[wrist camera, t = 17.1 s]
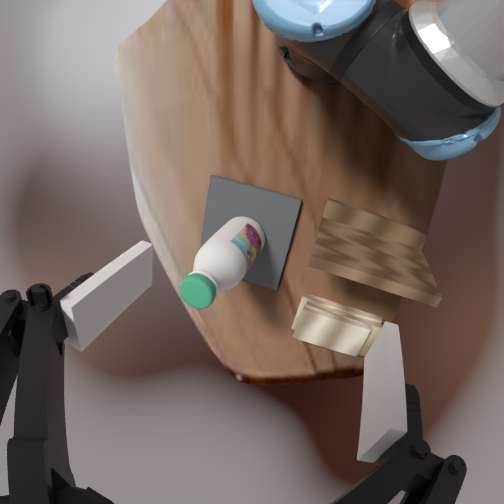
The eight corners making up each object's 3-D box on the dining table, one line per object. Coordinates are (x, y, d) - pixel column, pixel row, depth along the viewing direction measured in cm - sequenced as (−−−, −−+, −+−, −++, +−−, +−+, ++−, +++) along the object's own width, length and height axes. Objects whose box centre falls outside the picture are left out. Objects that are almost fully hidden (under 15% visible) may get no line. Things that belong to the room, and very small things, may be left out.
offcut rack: (287, 322, 62) (267, 379, 48) (327, 198, 49) (318, 232, 35) (369, 347, 58) (368, 407, 45) (426, 232, 46) (452, 278, 32)
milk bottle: (223, 251, 58) (169, 311, 41) (225, 211, 54) (166, 261, 37) (263, 259, 56) (222, 327, 39) (268, 219, 53) (224, 275, 35)
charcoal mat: (200, 262, 62) (198, 264, 61) (213, 175, 53) (210, 176, 52) (277, 288, 59) (276, 291, 58) (301, 199, 51) (301, 200, 50)
